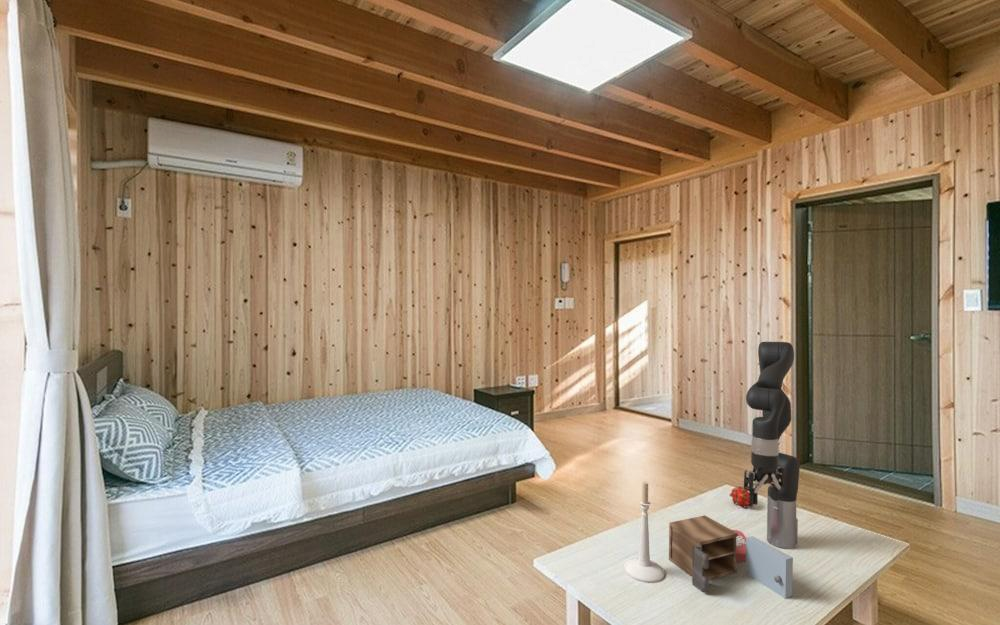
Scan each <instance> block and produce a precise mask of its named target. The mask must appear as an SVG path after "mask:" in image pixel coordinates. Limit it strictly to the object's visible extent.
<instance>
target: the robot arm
mask: <svg viewBox="0 0 1000 625" xmlns="http://www.w3.org/2000/svg"><path fill="white" fill-rule="evenodd" d="M757 350H758V351H757V352H758V354H757V355H758V364H759V372H760V374H759V375H758V376H759V377H758V380H757V381H756V382H755V383H753V385H751V386H750V388H749V389H748V391H747V393H746V395H745V397H746V398H745V401H746V404H747V405H748V406H749V408H750V409H752V410H755V411H756V410H757V411H762V416H755V417H754V418H753V419H752V428H751V430H752V431H751V432H752V437H751V441H750V442H751V446H750V447H751V448H750V449H751V450H750V451H751V453H750V454H751V455H750V458H751V459H750V460H751V461H750V463H751V465H752V467H753V468H752V470H751V471H749V470H747V469H746V470H744V475H743V488H744V489H745V490H748V492H749V500H750V502H751V503H752V504H753V506H756V505H758V503H759V502H758V501H759V500H758V491H759V490H760V488H762V487H763V485H766V484H768V485H769V486H768V488H767V512H766V514H767V515H766V518H767V520H766V527H767V528H766V541H767V542H768V544H770V545H771V546H772V545H773V547H774V546H775V547H776V548H777V547H778V548H780V549H794V548H796V546H797V545H798V534H799V533H798V530H799V529H798V527H799V526H798V525H799V524H798V523H799V521H798V520H799V519H798V518H797V502H798V500H797V499H798V498H797V497H798V492H799V491H798V490H799V481H800V469H801V468H800V462H799V460H798V458H797V456H796V457H795V456H793V455H790V454H786V453H783V452H779V451H780V450H779V448H780V447H779V440H780V438H781V437H782V435H783V433H785V431H786V430H787V428H788V427H789V426H790V424H791V422H792V406H791V401H790V399H789V397H788V395H787V394H786V393H785V391H784V390H783V389H782V387H783V384H784V383H783V382H784V379H785V377H786V375H787V374H788V373H789V372H790V369H791V368H792V366H793V364H794V360H795V351H794V346H793V344H792V343H790V342H788V341H761V342H760V343H759V345H758V349H757Z"/></svg>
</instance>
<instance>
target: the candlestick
mask: <svg viewBox="0 0 1000 625" xmlns="http://www.w3.org/2000/svg"><path fill="white" fill-rule="evenodd" d="M639 504H640V508H641V510H642V512H641V518H640V519H641V520H640V533H639V534H640V535H639V546H638V548H639V549H638V551H639V552H638V557H636V558H635V557H634V558H632V559H629V560H627V561H626V562H625V563H624V564H623V570H624V572H625V574H626V575H627V576H628V577H630V578H631V579H633V580H636V581H637V582H638V581H639V582H643V583H648V584H651V583H653V584H654V583H659V582H661V581H663V580H664V578H665V576H666V575H665V574H666V573H665V570H664V568H663V567H662V565H660V564H658V563H657V562H656V561H653V560H651V558H650V533H649V514H648V510H649V509H650V506H651V502H650V501H649V482H648V481H642V482H641V500H639Z"/></svg>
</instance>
